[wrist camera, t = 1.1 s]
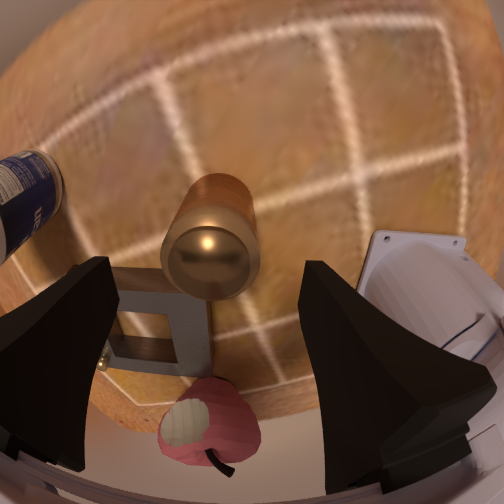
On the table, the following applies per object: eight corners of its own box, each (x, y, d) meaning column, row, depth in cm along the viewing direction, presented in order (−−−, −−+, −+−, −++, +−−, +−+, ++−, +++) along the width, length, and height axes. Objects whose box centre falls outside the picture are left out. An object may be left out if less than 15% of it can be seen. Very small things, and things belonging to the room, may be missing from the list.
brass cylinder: (254, 174, 15) (264, 221, 10) (251, 237, 17) (257, 307, 12) (183, 173, 15) (151, 219, 9) (186, 236, 17) (164, 304, 11)
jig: (208, 270, 18) (203, 305, 15) (214, 354, 23) (212, 387, 20) (73, 265, 18) (51, 293, 15) (104, 344, 22) (92, 373, 19)
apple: (237, 351, 23) (239, 461, 14) (269, 395, 27) (277, 479, 18) (149, 371, 24) (131, 461, 16) (193, 408, 29) (187, 484, 20)
